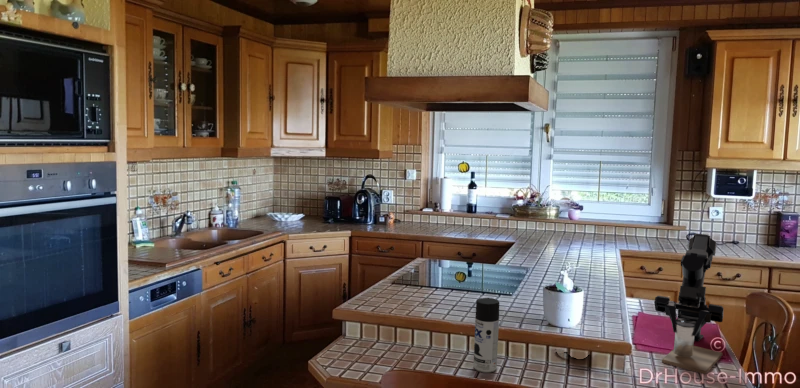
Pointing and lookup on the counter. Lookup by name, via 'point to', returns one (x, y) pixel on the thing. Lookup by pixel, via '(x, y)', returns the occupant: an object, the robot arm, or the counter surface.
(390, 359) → the counter surface
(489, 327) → the spray can
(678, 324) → the metal tin
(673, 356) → the tan wooden panel
